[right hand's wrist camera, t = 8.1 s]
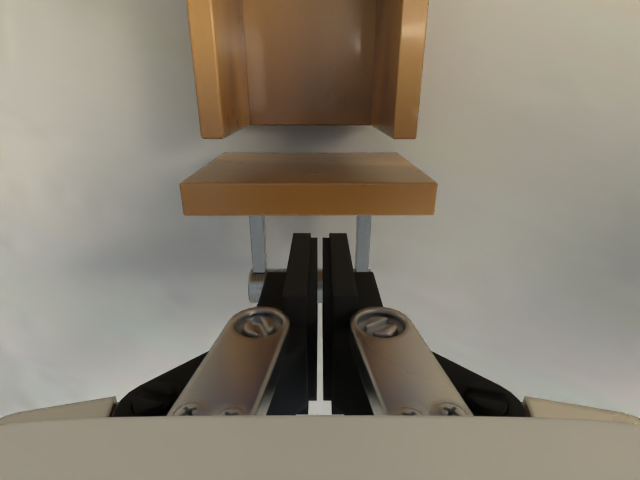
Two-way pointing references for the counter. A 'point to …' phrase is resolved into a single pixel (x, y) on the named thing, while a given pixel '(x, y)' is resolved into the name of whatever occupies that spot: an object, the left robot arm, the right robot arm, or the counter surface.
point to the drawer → (307, 111)
